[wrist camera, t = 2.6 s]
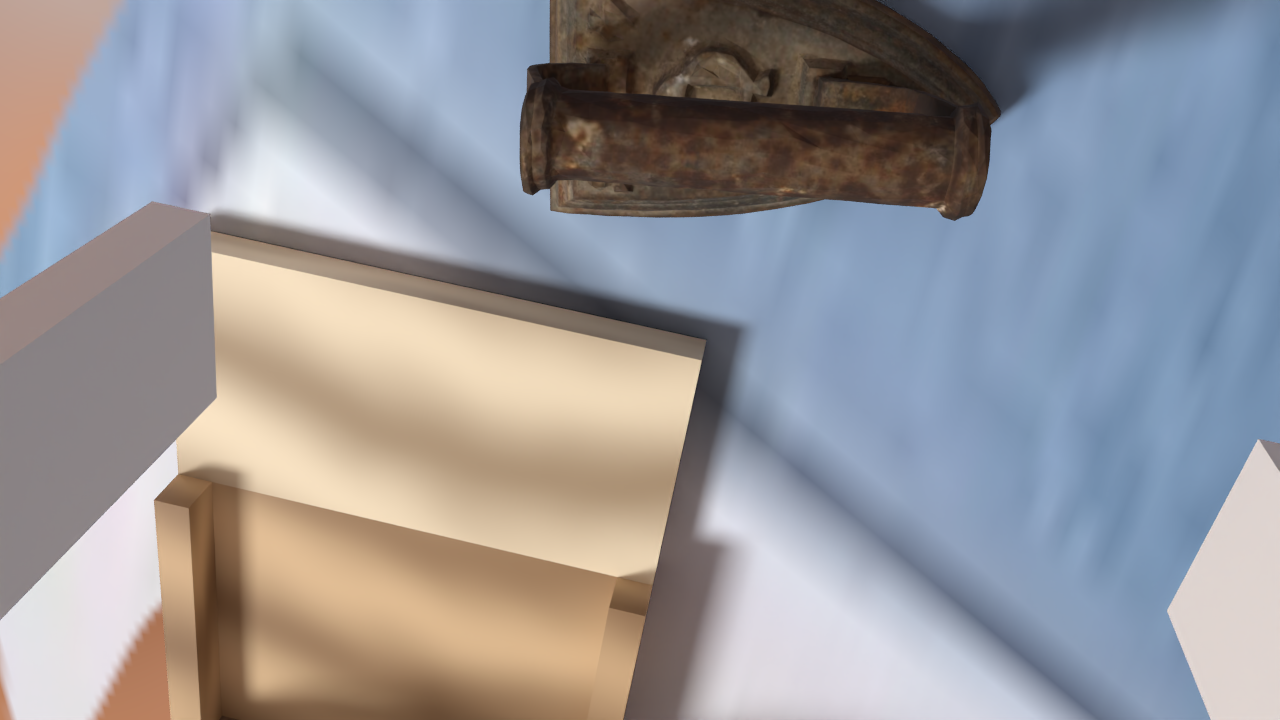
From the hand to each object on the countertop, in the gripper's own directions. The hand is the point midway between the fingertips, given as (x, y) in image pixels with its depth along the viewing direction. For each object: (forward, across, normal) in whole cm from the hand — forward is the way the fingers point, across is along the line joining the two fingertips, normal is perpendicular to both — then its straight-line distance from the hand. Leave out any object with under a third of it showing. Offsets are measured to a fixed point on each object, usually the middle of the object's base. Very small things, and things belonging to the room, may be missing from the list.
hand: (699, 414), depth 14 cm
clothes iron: (+15, 0, 0) cm, 15 cm away
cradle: (+15, -8, -17) cm, 24 cm away
